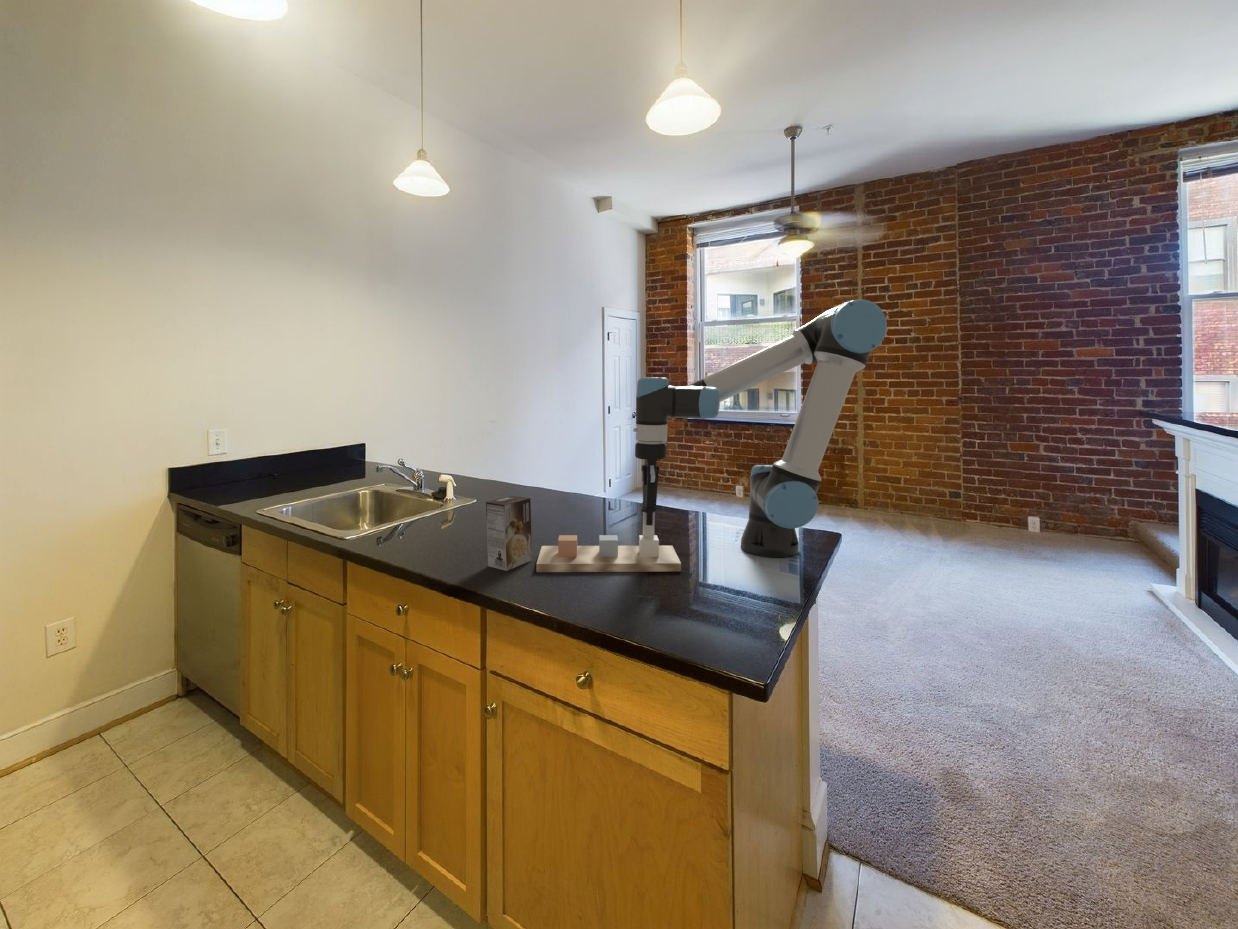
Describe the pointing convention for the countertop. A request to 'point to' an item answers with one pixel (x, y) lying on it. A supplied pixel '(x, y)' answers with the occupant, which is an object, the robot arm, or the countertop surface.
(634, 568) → the mount board
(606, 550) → the cap middle
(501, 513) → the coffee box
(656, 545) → the cap
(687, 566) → the countertop surface
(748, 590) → the countertop surface
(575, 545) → the cap
